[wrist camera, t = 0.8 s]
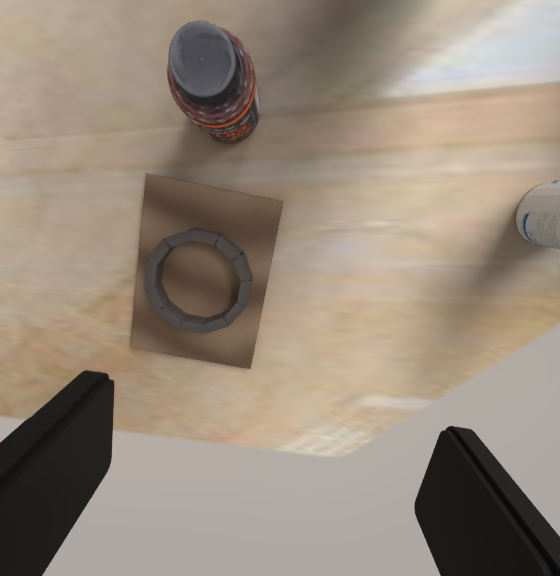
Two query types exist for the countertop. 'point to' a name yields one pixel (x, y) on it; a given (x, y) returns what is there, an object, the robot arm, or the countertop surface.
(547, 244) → the spray can
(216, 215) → the bottle holder
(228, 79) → the supplement bottle
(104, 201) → the countertop surface
